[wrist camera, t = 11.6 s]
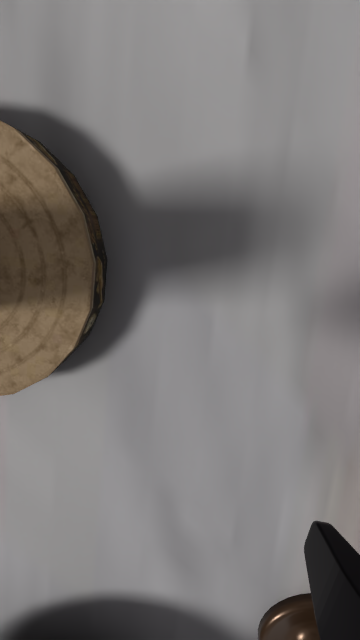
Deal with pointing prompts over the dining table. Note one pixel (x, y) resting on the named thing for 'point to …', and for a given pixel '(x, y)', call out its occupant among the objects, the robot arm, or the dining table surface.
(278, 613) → the candlestick
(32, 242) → the ringed beige coaster
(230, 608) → the dining table surface
